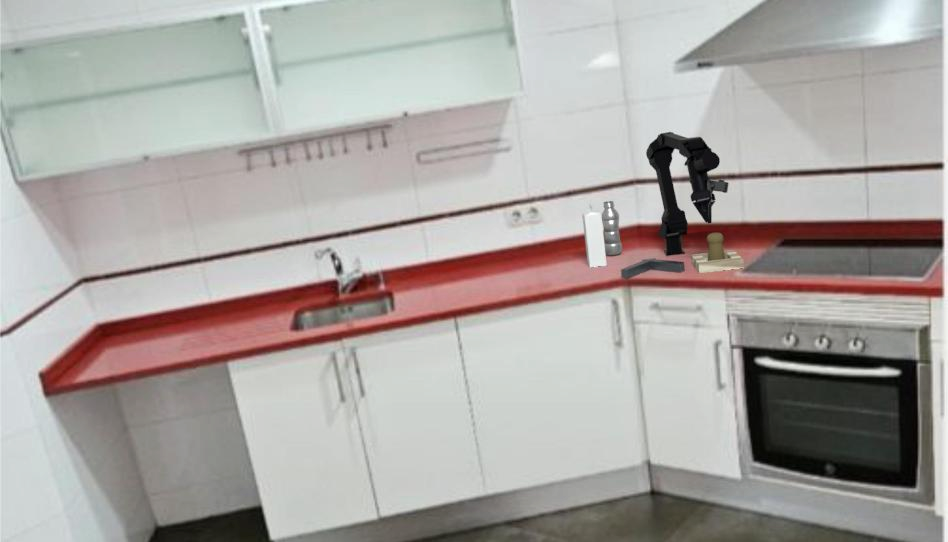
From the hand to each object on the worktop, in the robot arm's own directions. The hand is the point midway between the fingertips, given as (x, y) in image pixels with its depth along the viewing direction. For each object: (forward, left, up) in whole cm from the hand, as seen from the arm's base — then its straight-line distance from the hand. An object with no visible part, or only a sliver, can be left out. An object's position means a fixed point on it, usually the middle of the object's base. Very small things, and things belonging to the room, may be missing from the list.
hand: (708, 222), depth 263 cm
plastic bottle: (-33, -29, -15) cm, 47 cm away
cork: (0, +2, -15) cm, 15 cm away
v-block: (-3, -19, -15) cm, 24 cm away
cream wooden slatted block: (0, +2, -15) cm, 15 cm away
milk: (-20, -36, -15) cm, 44 cm away
